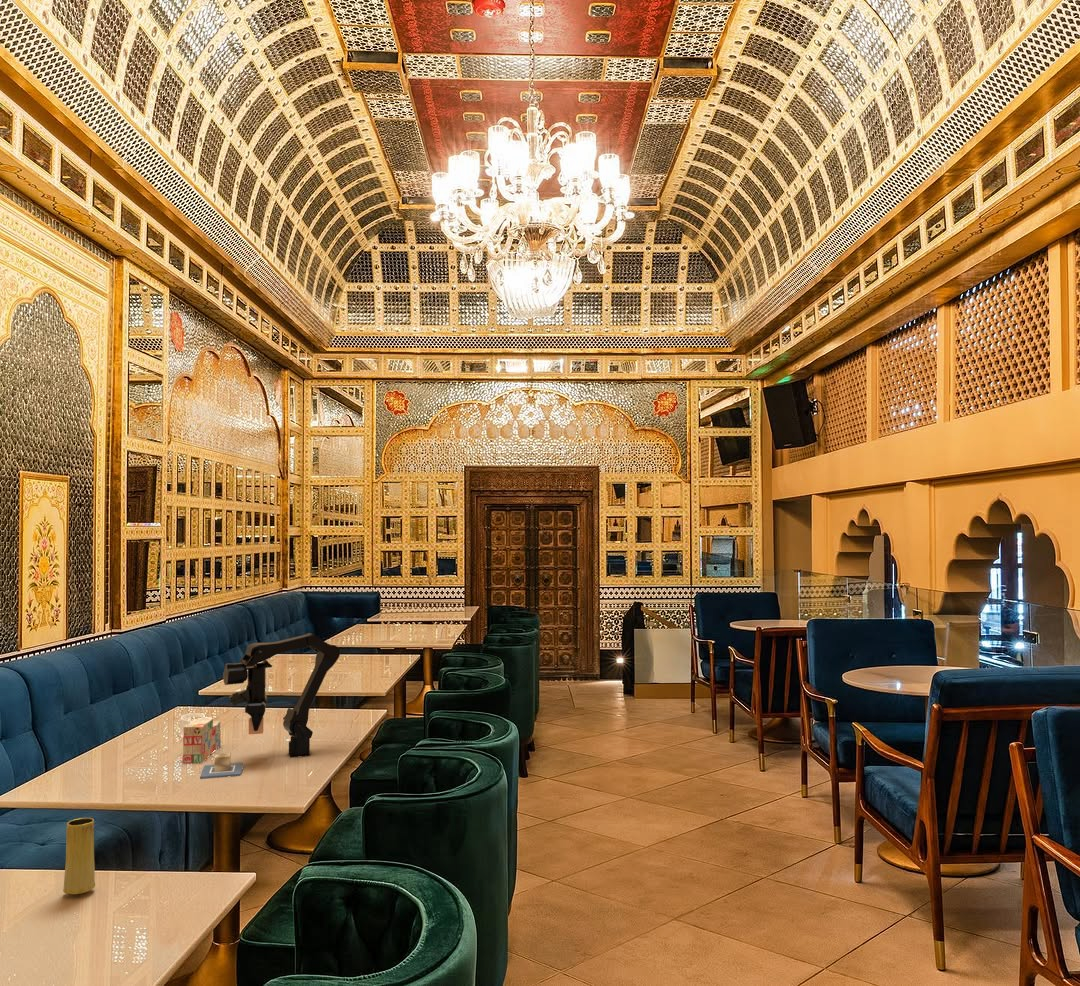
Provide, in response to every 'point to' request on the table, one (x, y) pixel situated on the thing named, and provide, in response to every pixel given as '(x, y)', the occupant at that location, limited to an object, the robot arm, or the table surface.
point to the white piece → (189, 720)
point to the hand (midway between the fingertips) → (256, 729)
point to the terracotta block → (251, 729)
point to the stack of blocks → (200, 740)
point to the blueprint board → (209, 771)
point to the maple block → (222, 762)
